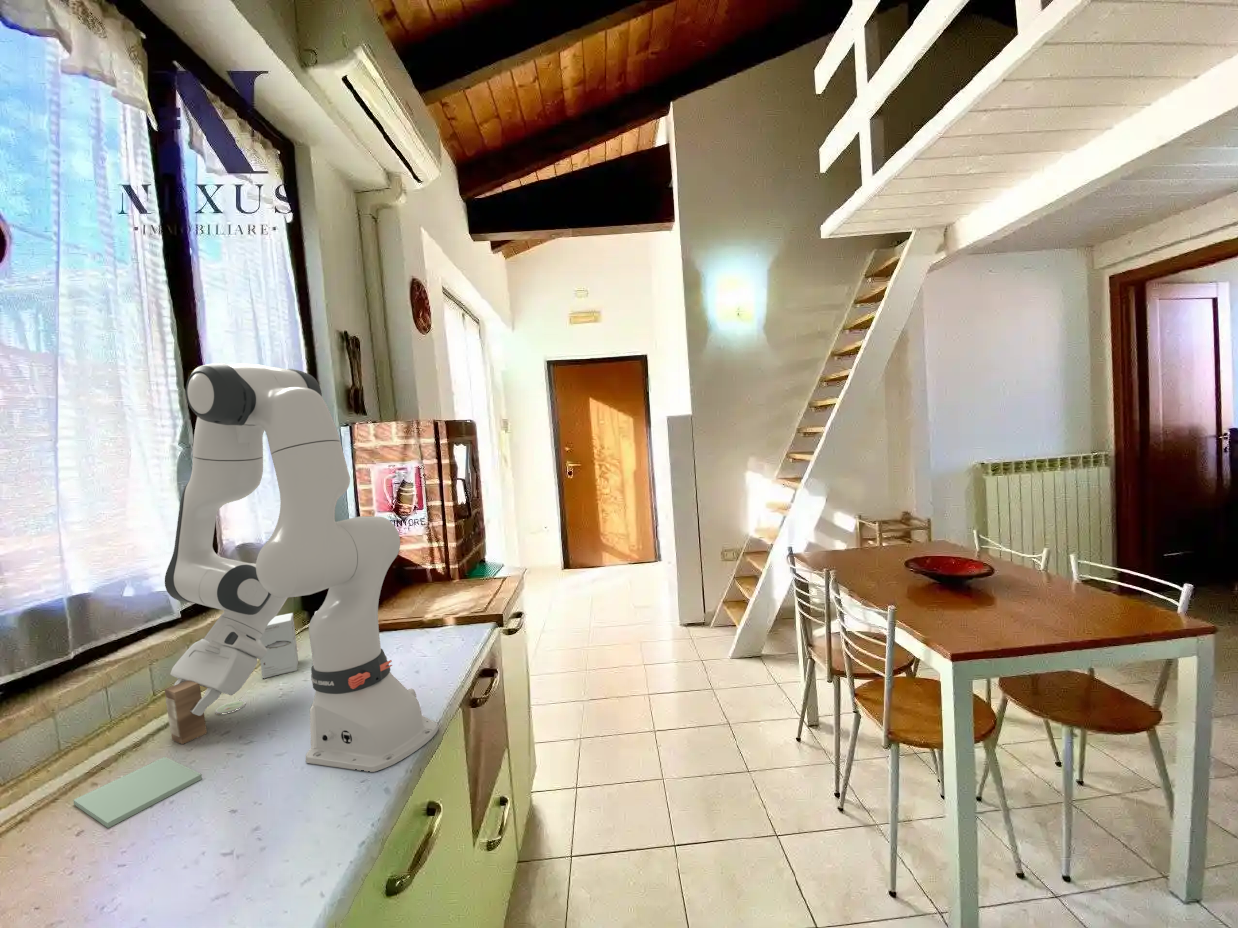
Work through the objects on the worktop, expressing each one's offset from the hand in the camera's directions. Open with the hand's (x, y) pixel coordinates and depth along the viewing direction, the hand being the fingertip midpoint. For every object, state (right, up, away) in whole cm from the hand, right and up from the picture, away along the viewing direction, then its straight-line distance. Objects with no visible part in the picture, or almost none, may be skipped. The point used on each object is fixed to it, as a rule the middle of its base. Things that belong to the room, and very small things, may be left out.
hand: (182, 709), depth 104 cm
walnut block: (+1, -6, +1) cm, 6 cm away
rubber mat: (+5, -6, -15) cm, 18 cm away
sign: (0, -5, +16) cm, 17 cm away
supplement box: (+1, -4, +29) cm, 30 cm away
